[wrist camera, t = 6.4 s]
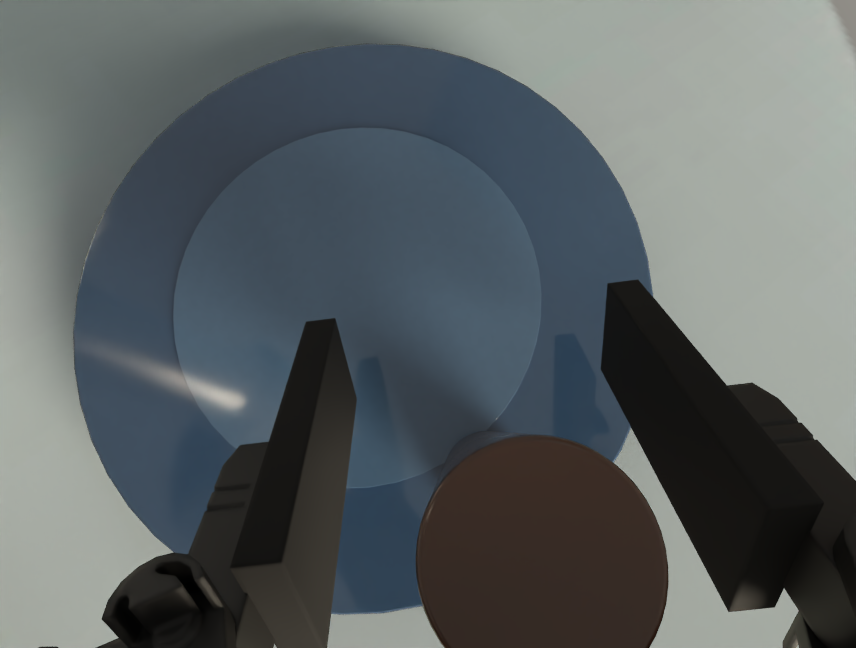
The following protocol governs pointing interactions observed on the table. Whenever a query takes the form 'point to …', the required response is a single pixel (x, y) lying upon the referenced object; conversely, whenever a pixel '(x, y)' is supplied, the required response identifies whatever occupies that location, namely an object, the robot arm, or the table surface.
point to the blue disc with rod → (387, 336)
